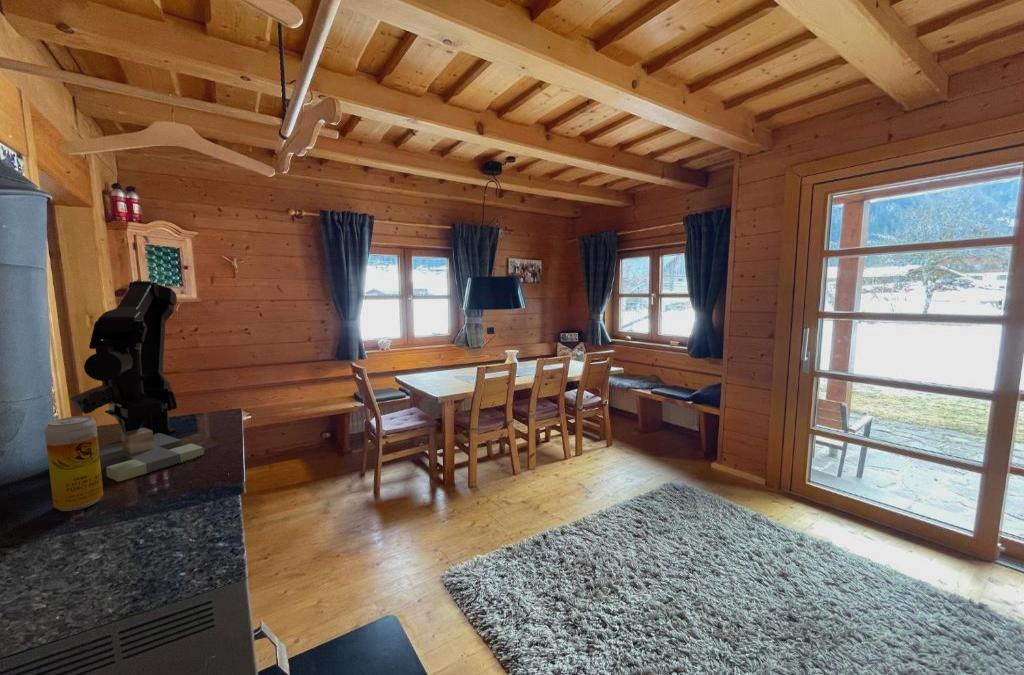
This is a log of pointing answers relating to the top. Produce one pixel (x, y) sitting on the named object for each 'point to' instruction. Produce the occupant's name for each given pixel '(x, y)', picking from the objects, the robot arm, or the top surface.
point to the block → (137, 440)
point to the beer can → (74, 462)
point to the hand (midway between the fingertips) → (130, 440)
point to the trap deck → (145, 457)
